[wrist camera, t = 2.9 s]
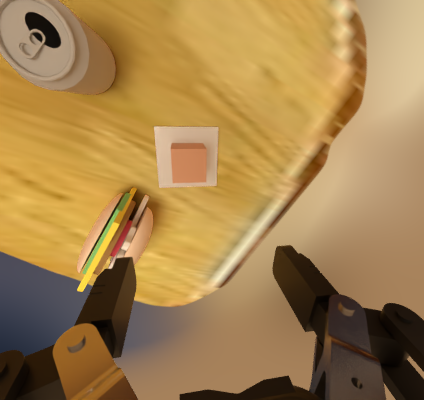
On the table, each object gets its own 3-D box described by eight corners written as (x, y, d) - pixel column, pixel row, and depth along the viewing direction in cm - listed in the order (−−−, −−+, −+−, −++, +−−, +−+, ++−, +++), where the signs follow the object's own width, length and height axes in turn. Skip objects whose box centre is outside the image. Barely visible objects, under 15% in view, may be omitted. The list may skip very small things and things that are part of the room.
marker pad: (154, 126, 32) (153, 126, 32) (217, 126, 34) (218, 127, 34) (159, 186, 37) (159, 187, 36) (216, 184, 38) (216, 185, 38)
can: (129, 65, 29) (100, 41, 18) (96, 107, 30) (51, 107, 20) (77, 13, 26) (7, -52, 15) (44, 62, 27) (-42, 34, 17)
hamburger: (135, 251, 41) (120, 302, 30) (92, 234, 38) (58, 285, 28) (164, 202, 38) (159, 241, 27) (119, 180, 35) (94, 213, 24)
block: (171, 143, 33) (170, 148, 29) (202, 143, 34) (206, 148, 30) (173, 173, 35) (172, 183, 31) (202, 172, 36) (206, 182, 32)
